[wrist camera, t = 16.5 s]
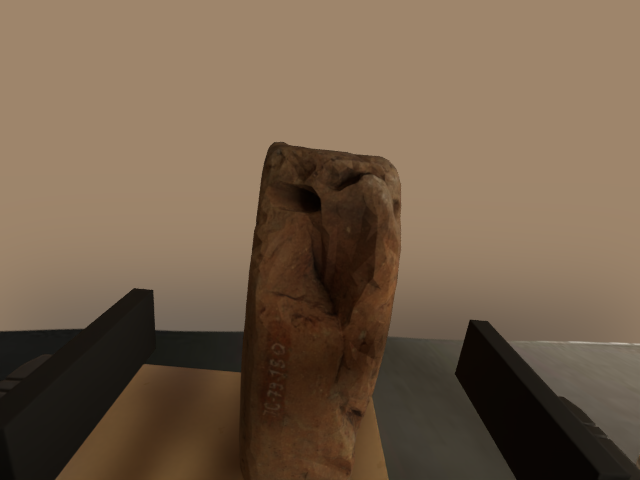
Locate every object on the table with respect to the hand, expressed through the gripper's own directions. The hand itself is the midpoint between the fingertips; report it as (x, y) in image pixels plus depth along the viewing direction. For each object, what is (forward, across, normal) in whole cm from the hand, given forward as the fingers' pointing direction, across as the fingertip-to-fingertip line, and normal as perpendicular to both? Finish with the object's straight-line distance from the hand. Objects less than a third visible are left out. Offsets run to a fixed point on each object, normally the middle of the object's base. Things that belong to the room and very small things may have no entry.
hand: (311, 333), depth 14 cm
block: (+5, 0, -13) cm, 14 cm away
